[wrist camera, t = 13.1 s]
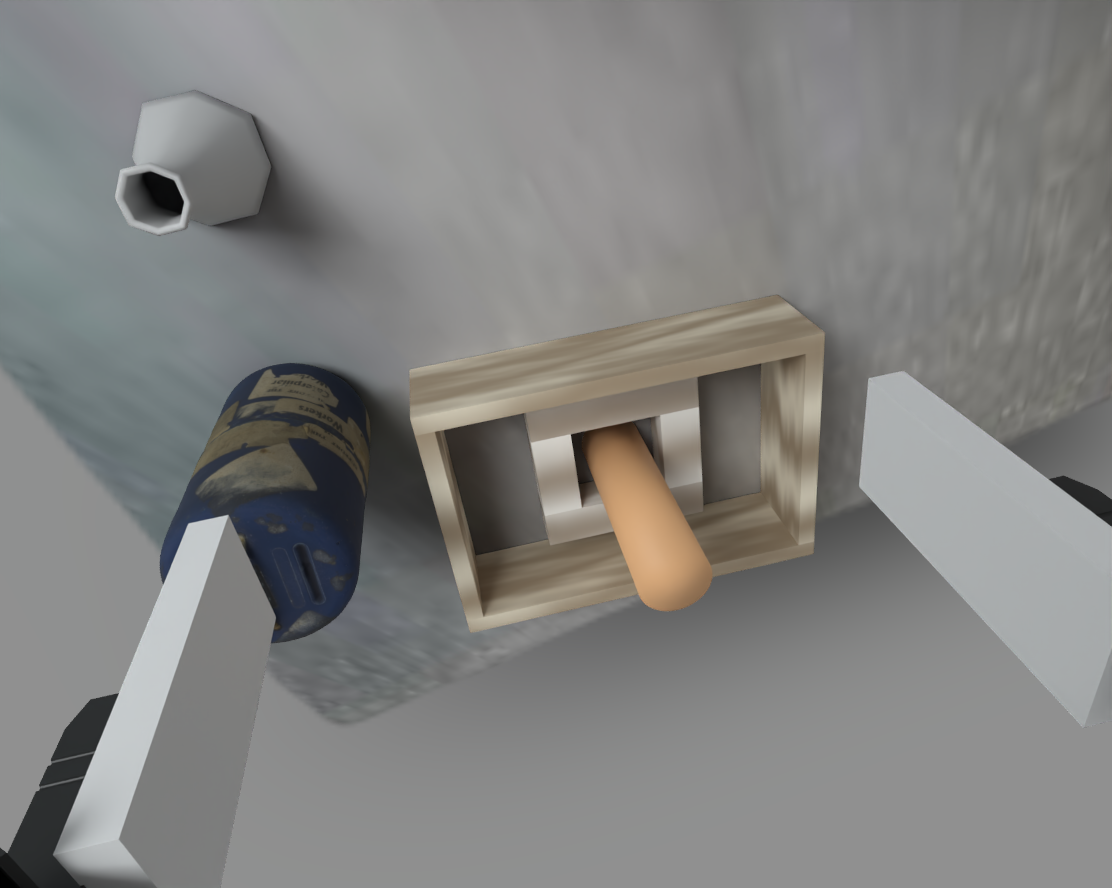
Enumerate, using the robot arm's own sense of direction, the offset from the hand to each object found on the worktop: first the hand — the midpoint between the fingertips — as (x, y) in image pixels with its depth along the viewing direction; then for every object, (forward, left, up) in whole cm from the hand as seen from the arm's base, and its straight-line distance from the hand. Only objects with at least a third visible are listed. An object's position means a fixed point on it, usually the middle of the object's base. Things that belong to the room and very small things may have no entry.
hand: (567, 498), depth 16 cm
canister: (+14, -14, -35) cm, 40 cm away
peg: (+21, +7, -35) cm, 41 cm away
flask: (-3, -14, -35) cm, 38 cm away
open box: (+21, +7, -35) cm, 41 cm away
